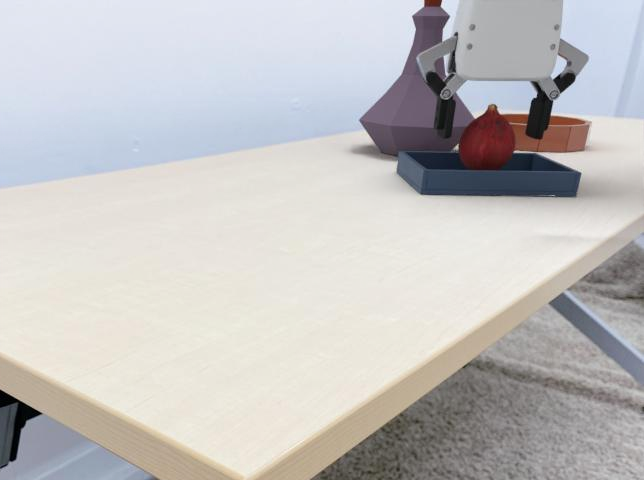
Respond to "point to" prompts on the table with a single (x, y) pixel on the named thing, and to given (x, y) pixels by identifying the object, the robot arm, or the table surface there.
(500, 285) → the table surface
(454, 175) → the tray
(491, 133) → the onion
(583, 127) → the bowl
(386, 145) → the flask
